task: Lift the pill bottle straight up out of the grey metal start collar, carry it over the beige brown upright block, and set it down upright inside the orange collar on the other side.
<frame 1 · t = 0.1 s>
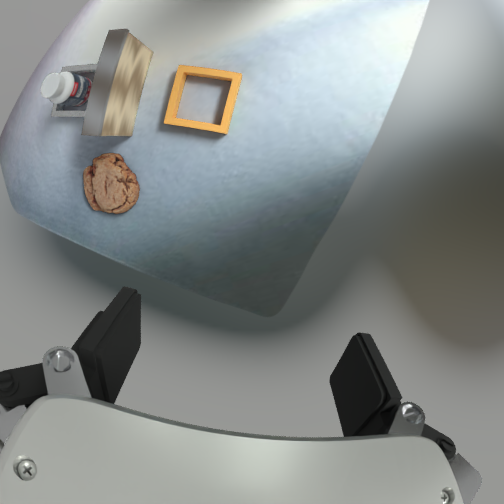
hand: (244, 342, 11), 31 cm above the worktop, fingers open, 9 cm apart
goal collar: (204, 99, 35), on the worktop
cookie: (113, 183, 39), on the worktop
start collar: (81, 91, 33), on the worktop
pill bottle: (81, 91, 33), resting in start collar
beige brown upright block: (135, 92, 34), on the worktop
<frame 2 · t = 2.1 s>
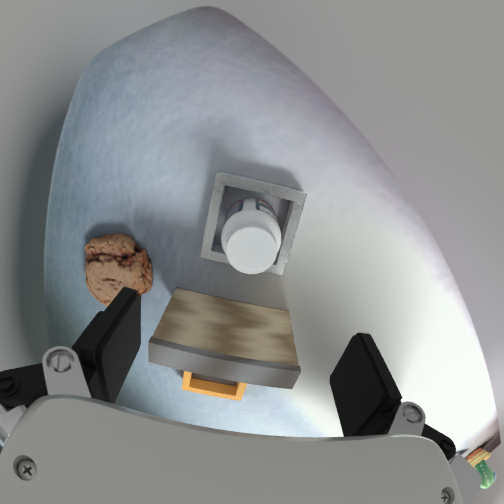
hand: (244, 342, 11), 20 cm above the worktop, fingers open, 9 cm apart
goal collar: (217, 367, 37), on the worktop
cookie: (119, 269, 32), on the worktop
start collar: (251, 221, 29), on the worktop
potted cactus: (473, 452, 69), on the worktop
pill bottle: (251, 220, 30), resting in start collar
beige brown upright block: (231, 307, 33), on the worktop
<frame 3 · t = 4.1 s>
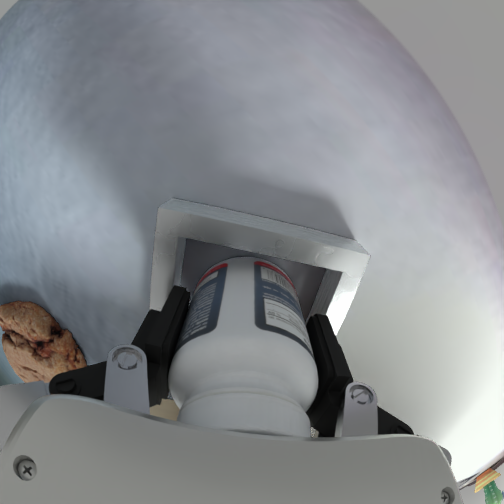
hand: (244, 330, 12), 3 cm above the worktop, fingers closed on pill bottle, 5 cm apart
cookie: (47, 347, 17), on the worktop
start collar: (246, 301, 14), on the worktop
potted cactus: (483, 472, 54), on the worktop
pill bottle: (246, 298, 14), resting in start collar, touching gripper
beige brown upright block: (215, 416, 18), on the worktop
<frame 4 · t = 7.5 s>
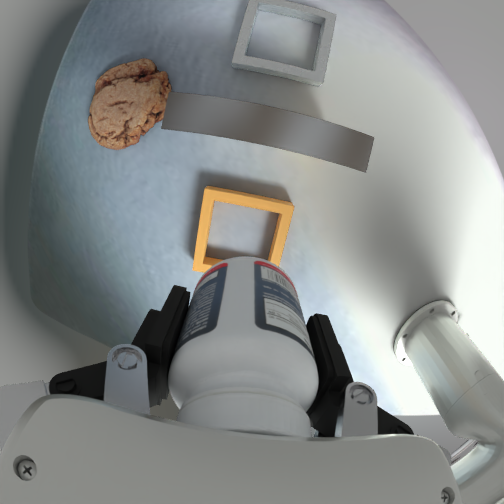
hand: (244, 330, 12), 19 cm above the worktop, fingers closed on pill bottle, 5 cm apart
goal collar: (241, 233, 30), on the worktop
cookie: (131, 104, 25), on the worktop
start collar: (284, 40, 22), on the worktop
pill bottle: (246, 298, 14), point 16 cm above the worktop, touching gripper
beige brown upright block: (262, 133, 26), on the worktop
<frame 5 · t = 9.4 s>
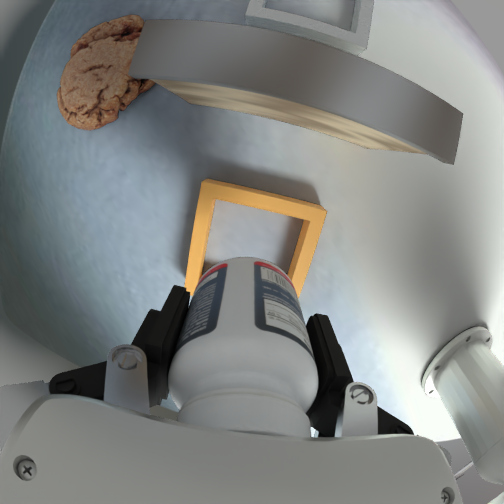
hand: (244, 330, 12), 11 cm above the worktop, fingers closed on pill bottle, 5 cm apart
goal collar: (251, 245, 22), on the worktop
cookie: (111, 73, 17), on the worktop
pill bottle: (246, 299, 14), point 8 cm above the worktop, touching gripper
beige brown upright block: (285, 109, 18), on the worktop
when the fingers open (4 cm above the worktop, at t = 11.1 s): pill bottle drops 1 cm, resting in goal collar.
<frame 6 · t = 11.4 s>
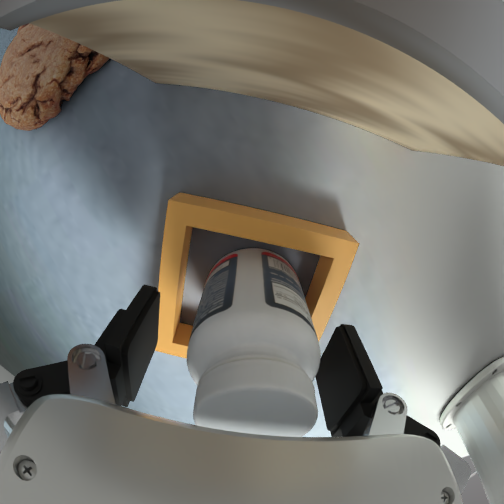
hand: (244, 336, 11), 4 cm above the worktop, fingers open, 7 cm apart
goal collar: (246, 287, 16), on the worktop
cookie: (60, 54, 10), on the worktop
pill bottle: (253, 287, 16), resting in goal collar
beige brown upright block: (296, 88, 12), on the worktop
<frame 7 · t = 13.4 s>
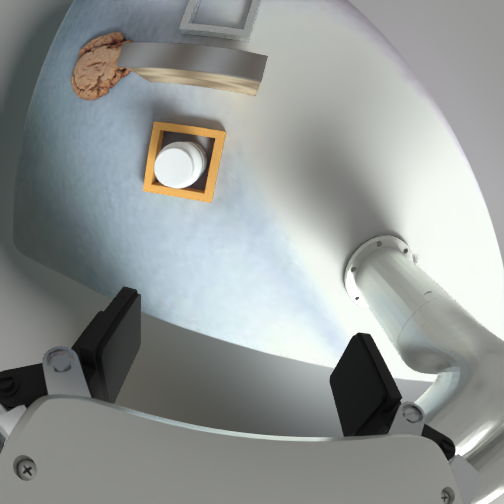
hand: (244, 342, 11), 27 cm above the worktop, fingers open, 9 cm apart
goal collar: (185, 160, 33), on the worktop
cookie: (105, 67, 27), on the worktop
start collar: (223, 11, 25), on the worktop
pill bottle: (188, 160, 34), resting in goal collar
beige brown upright block: (202, 79, 29), on the worktop
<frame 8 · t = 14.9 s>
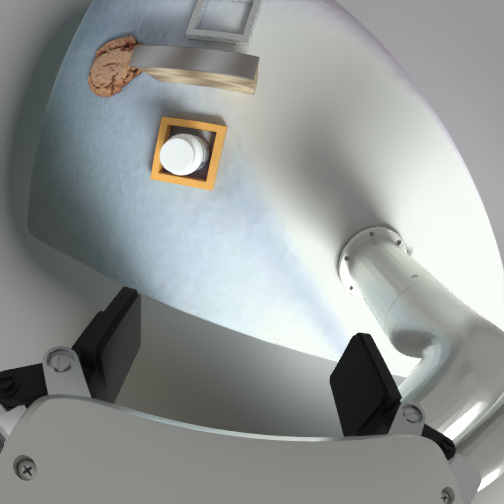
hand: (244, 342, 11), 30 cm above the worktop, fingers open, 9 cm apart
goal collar: (189, 152, 37), on the worktop
cookie: (118, 67, 31), on the worktop
start collar: (225, 18, 29), on the worktop
pill bottle: (192, 152, 37), resting in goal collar
beige brown upright block: (206, 79, 33), on the worktop
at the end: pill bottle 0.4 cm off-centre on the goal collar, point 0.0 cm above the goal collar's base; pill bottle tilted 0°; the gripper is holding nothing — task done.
